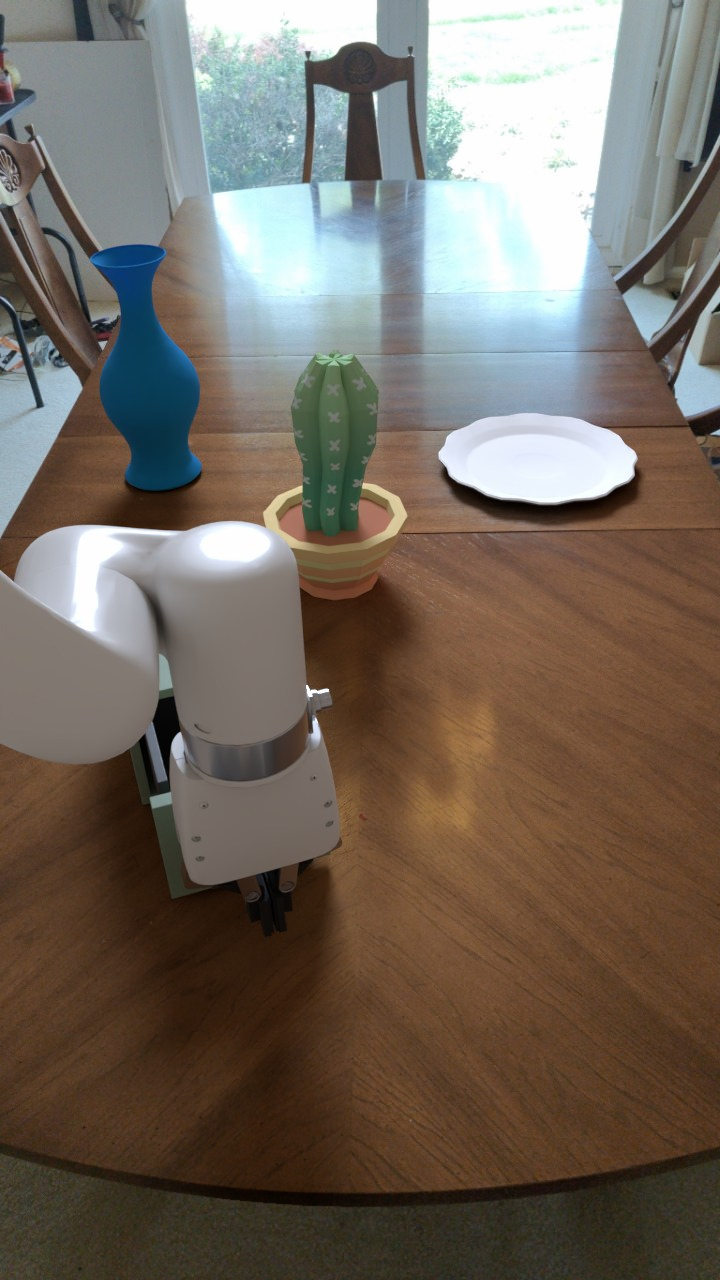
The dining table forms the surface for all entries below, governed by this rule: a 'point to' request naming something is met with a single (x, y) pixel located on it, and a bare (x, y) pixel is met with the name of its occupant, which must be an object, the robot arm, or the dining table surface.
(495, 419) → the plate
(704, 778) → the dining table surface
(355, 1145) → the dining table surface
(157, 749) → the drawer
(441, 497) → the dining table surface
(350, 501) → the potted cactus
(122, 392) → the vase
